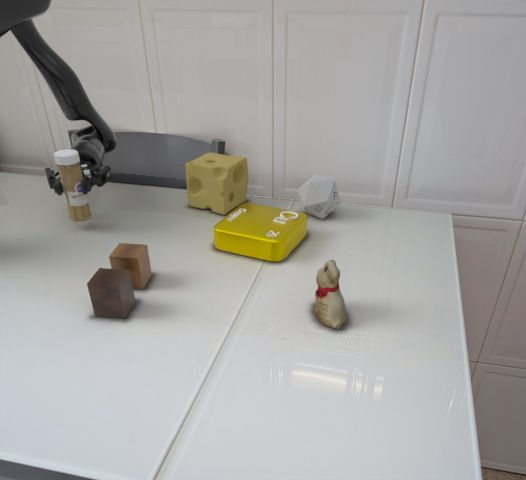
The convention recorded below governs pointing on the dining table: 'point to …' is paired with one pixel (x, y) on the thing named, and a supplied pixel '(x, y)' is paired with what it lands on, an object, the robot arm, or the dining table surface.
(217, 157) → the cheese
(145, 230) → the dining table surface
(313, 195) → the die
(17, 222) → the dining table surface
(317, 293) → the chocolate bunny
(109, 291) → the walnut block
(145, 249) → the oak block
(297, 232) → the element tile
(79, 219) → the sprinkles bottle
